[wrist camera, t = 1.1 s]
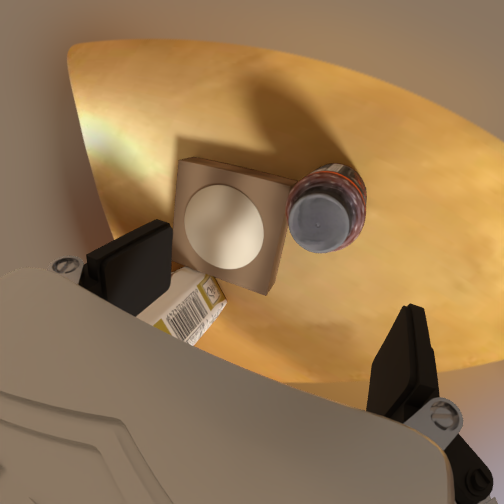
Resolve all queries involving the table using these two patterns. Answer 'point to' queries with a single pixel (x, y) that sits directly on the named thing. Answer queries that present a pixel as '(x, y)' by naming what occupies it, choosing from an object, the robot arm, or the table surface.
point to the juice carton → (186, 305)
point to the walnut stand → (230, 222)
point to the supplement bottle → (327, 208)
